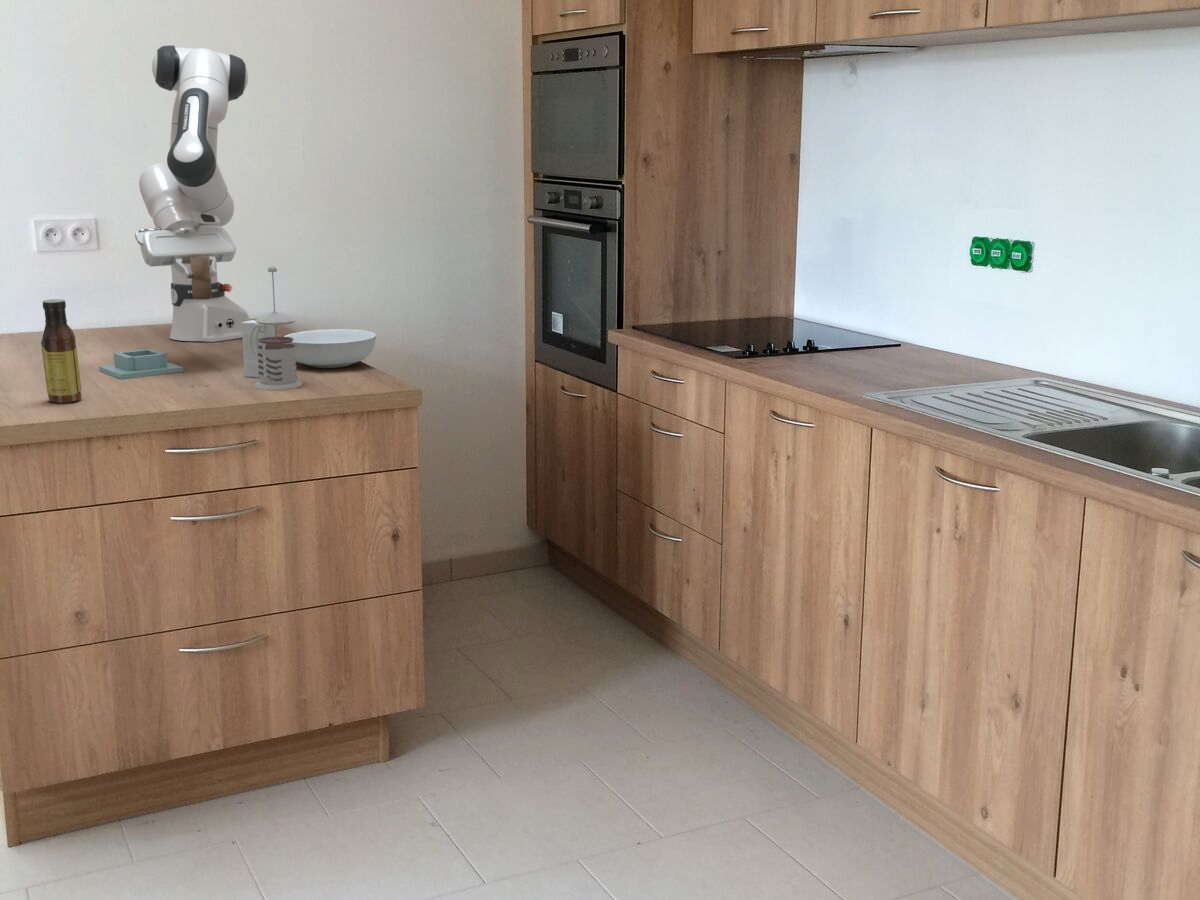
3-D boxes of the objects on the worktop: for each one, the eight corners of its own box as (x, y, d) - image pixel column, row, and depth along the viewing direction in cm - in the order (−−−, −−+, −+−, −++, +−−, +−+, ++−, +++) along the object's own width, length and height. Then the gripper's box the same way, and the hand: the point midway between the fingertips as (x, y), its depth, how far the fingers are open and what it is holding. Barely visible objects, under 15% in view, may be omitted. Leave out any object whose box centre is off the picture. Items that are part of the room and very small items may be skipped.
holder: (160, 363, 280) (159, 346, 279) (183, 371, 272) (182, 353, 271) (99, 370, 271) (97, 353, 270) (120, 379, 262) (119, 360, 261)
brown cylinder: (207, 296, 271) (204, 255, 269) (215, 298, 268) (212, 257, 266) (189, 298, 268) (186, 256, 266) (197, 299, 265) (194, 258, 263)
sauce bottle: (63, 396, 244) (53, 297, 240) (89, 398, 243) (80, 298, 238) (39, 403, 238) (29, 301, 233) (66, 405, 237) (56, 302, 232)
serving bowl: (333, 353, 297) (332, 325, 295) (395, 363, 285) (394, 334, 283) (264, 365, 280) (263, 336, 279) (328, 376, 269) (326, 345, 267)
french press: (277, 391, 253) (271, 269, 247) (238, 384, 259) (231, 265, 252) (311, 383, 261) (306, 265, 255) (273, 377, 267) (267, 262, 261)
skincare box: (278, 375, 269) (276, 321, 266) (267, 378, 265) (264, 323, 262) (255, 373, 271) (252, 319, 268) (243, 376, 267) (240, 322, 264)
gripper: (135, 219, 262) (158, 269, 258) (224, 216, 276) (248, 263, 271) (128, 239, 267) (151, 288, 262) (217, 235, 280) (239, 281, 276)
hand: (201, 275), depth 267 cm, fingers closed on brown cylinder, 4 cm apart
